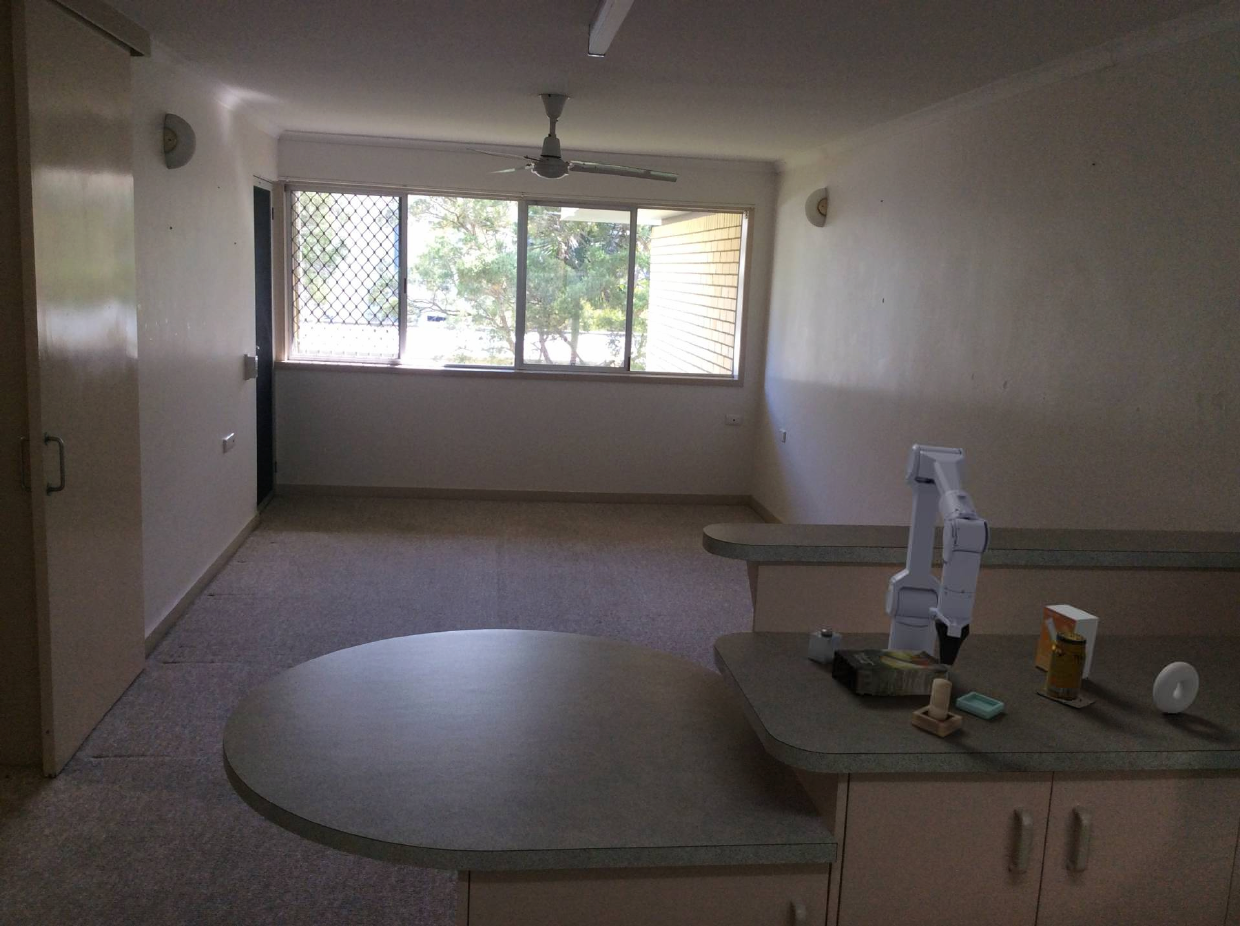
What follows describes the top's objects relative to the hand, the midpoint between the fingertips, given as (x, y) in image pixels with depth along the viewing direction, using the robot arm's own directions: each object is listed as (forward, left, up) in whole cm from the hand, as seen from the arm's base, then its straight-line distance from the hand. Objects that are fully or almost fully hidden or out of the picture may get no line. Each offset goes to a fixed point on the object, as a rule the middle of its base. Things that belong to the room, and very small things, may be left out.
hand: (946, 663), depth 173 cm
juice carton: (-5, -13, -11) cm, 18 cm away
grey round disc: (-41, +24, -10) cm, 49 cm away
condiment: (-30, +9, -10) cm, 33 cm away
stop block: (-5, -28, -10) cm, 30 cm away
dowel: (+3, +1, -10) cm, 11 cm away
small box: (-42, +3, -10) cm, 44 cm away
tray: (-10, +2, -10) cm, 15 cm away
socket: (+3, +1, -10) cm, 11 cm away
